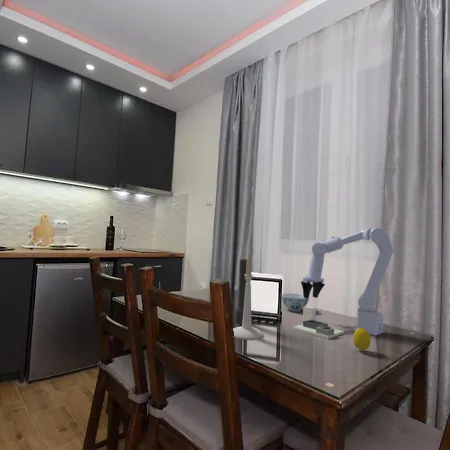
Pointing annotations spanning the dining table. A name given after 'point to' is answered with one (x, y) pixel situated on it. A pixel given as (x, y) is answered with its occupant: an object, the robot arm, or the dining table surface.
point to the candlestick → (247, 311)
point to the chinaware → (294, 301)
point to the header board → (312, 331)
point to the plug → (309, 313)
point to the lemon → (361, 339)
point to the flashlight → (241, 292)
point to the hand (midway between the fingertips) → (310, 297)
